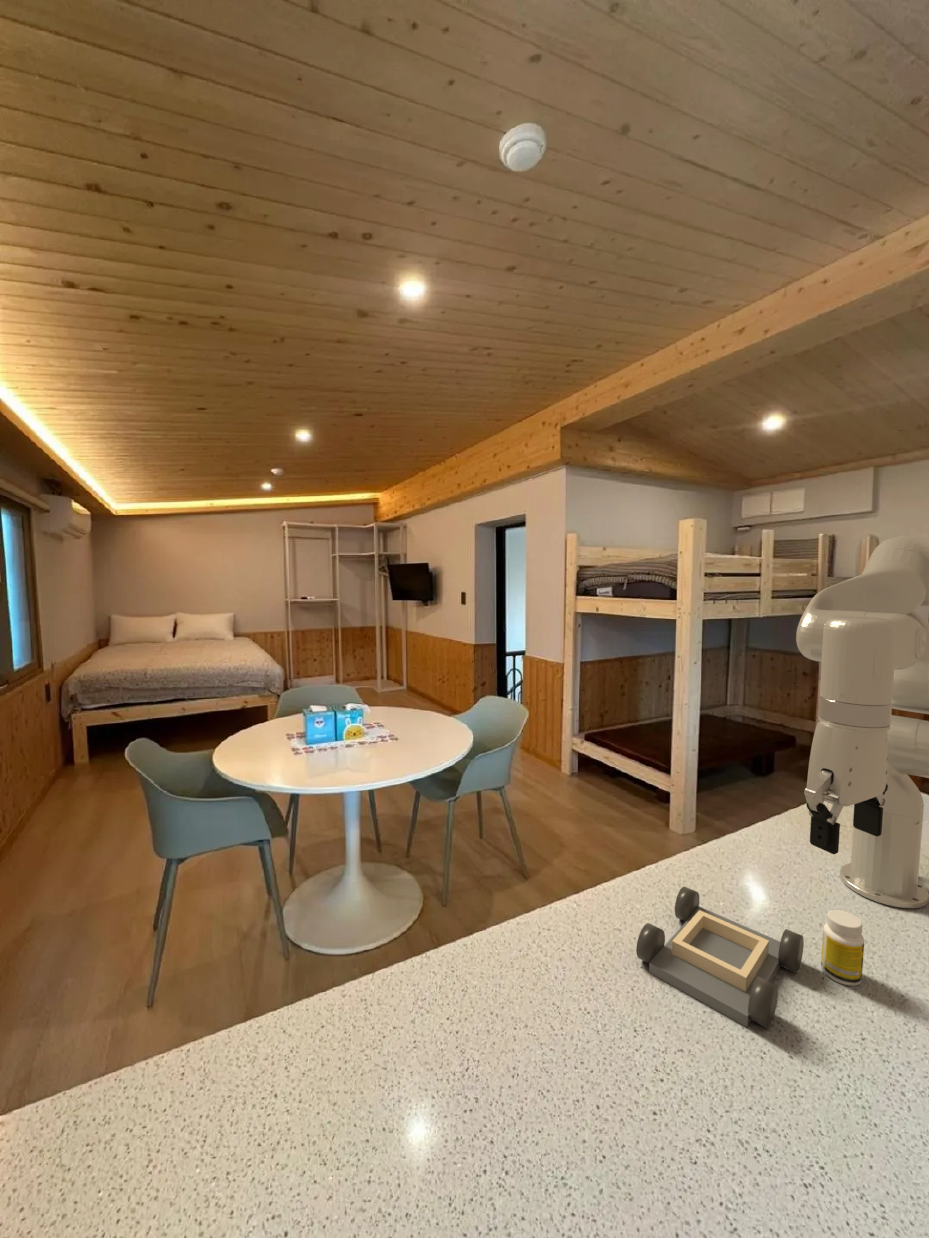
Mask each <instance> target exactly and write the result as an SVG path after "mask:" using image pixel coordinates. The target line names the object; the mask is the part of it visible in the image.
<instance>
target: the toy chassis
mask: <svg viewBox="0 0 929 1238" xmlns="http://www.w3.org/2000/svg"><path fill="white" fill-rule="evenodd" d="M676 896H677V897H675V898H676V900H675V904H674V915H675V917H676V918H677V919H679V920H681V921H682V922H684V923H683V924H682V925H681V927H679V929H678V930H677V931H676V932H674V935H672V937H671V938H670V939H669V940H668V941H667V942H666V934H665V931H664V930H663V929H661V928H659V927H657V926H656V925H654V924H652V923H650V922H647V923H645V924H644V926H642V928H641V930H640V932H639V935H638V938H637V940H636V941H637V942H636V950H635V951H636V956H637V959H639V960H641V961H643V962H645V963H646V964H648V973H649V974H650V975H652V976H654V977H656V978H658V979H659V980H661V981H663V982H665V983H667V984H668V985H670V986H673V987H674V988H675V989H677V990H680V991H681V992H683V993H685V994H687V995H688V996H690V997H691V998H694V999H695V1000H698V1001H699V1002H701V1003H703V1004H704V1005H706V1006H708V1007H709V1008H712V1009H714V1010H715V1011H717V1012H719V1013H721V1014H723V1015H724V1016H727V1018H729V1019H731V1020H733V1021H735V1022H737V1023H738V1024H739V1025H742V1026H744V1027H746V1028H748V1027H749V1025H750V1023H751V1022H752V1021H753V1022H755V1023H757V1024H759V1025H760V1026H762V1027H764V1028H765V1029H770V1027H771V1026H772V1023H773V1020H774V1018H775V1015H776V1010H777V1005H778V998H779V997H778V995H779V991H778V986H777V985H776V984H774V983H773V981H774V980H775V977H776V976H777V974H778V972H779V970H780V969H781V967H782V968H785V969H786V970H789V971H792V972H793V973H795V974H797V973H798V972H799V969H800V967H801V964H802V959H803V954H804V948H805V947H804V946H805V945H804V943H805V941H804V940H805V939H804V936H803V935H802V934H799V933H797V932H795V931H792V930H790V929H787V928H785V930H783V932H782V936H781V938H780V940H778V939H774V938H773V937H770V936H769V935H765V934H764V933H761V932H759V931H757V930H754V929H752V928H749V927H747V926H745V925H743V924H742V923H741V924H740V923H738V922H736V921H733V920H731V919H729V918H726V917H725V916H722V915H719V914H717V913H715V912H713V911H710V910H709V909H706V908H704V907H701V906H700V894H699V892H698V891H696V890H694V889H691V888H689V887H686V886H682V887H681V888H680V890H678V893H677V895H676ZM665 942H666V944H665Z"/></svg>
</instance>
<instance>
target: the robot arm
mask: <svg viewBox="0 0 929 1238" xmlns="http://www.w3.org/2000/svg"><path fill="white" fill-rule="evenodd" d="M920 607H929V534H915V535H914V534H912V535H900V536H895V537H890V538H888V539H886V540H883V541H882V542H880V543H879V544H878V545H877V546H876V547H875V548H874V549H873V551H872V553H871V554H870V557H869V558H868V560H867V563H866V565H865V567H864V569H863V571H862V573H861V574H860V575H856V576H853V577H851V578H848V579H845V580H843V581H840V582H838V583H836V584H832V585H830V586H828V587H826V588H824V589H822V590H821V591H819V592H818V593H816V594H815V595H814V596H813V597H812V598H811V600H810V601H809V603H808V604H807V606H806V608H805V610H804V611H803V614H801V617H800V620H799V622H798V625H797V628H796V635H795V637H796V638H795V641H796V646H797V648H798V650H799V652H800V653H801V655H802V656H803V657H805V658H807V659H808V660H811V661H813V662H821V666H820V667H821V668H820V682H819V683H820V686H819V700H818V701H819V702H818V714H817V715H818V716H817V717H818V719H817V720H818V721H819V722H817V723H816V727H815V730H814V733H813V738H812V742H811V748H810V755H809V761H808V771H807V781H806V787H805V788H804V793H803V794H804V798H805V800H806V803H805V805H806V808H807V810H808V815H809V816H810V830H809V842H810V843H809V844H810V845H812V846H814V847H817V848H819V849H820V850H823V851H825V852H827V853H830V854H832V855H836V854H838V853H839V850H840V849H839V845H840V834H841V833H840V830H841V823H839V822H837V821H838V819H839V817H840V815H841V812H842V811H843V808H844V807H849V806H853V819H852V826H853V827H852V829H853V830H852V842H851V856H850V857H851V858H850V863H846V864H844V865H842V866H841V867H840V871H839V877H840V879H841V881H842V882H843V883H844V884H845V886H847V887H848V888H849V889H850V890H852V891H853V892H855V893H857V894H858V895H861V896H862V897H864V898H867V899H868V900H871V901H874V902H876V903H879V904H883V905H886V906H890V907H895V908H900V909H901V908H902V909H919V908H922V907H925V906H927V905H928V903H929V892H928V890H927V889H926V887H924V885H923V884H922V883H920V882H919V875H920V861H921V849H922V847H921V846H922V834H923V822H924V821H923V819H924V811H925V810H924V809H925V808H924V806H925V802H924V799H923V796H922V793H921V791H920V790H919V787H918V786H917V785H916V784H915V782H914V781H913V780H912V778H911V777H910V776H916V777H923V778H927V779H929V720H924V719H919V718H912V717H905V716H899V715H894V714H892V711H893V710H899V711H906V712H911V713H912V712H913V713H919V714H924V715H929V621H928V620H926V618H924V616H923V615H921V614H920V613H919V612H918V611H916V610H917V609H918V608H920ZM892 709H893V710H892ZM909 775H910V776H909ZM827 793H828V794H827ZM829 794H830V795H829ZM831 795H833V796H831ZM834 796H836V797H834ZM825 802H826V803H828V804H831V805H832V806H831V808H830V810H829V808H828V807H827V806H826V804H824V803H825Z"/></svg>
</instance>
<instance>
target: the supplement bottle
mask: <svg viewBox="0 0 929 1238" xmlns="http://www.w3.org/2000/svg"><path fill="white" fill-rule="evenodd" d="M826 916H827V917H826V923H825V924H824V925H823V930H822V943H821V944H822V945H821V947H822V948H821V960H820V962H821V969H822V971H823V972H824V974H825V975H826V976H827V977H828V978H830V979H831V980H833V981H834V982H836V983H839V984H842V985H845V986H851V987H853V986H859V985H860V984H861V983H862V980H863V966H864V954H865V953H864V951H865V938H864V936H863V935H862V933H863V925H862V923H863V922H862V921H861V920H860V918H859V917H857V916H856V915H854V914H852V913H850V912H847V911H845V910H839V909H832V910H831V909H830V910H829V911H828V912H827V915H826Z"/></svg>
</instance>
